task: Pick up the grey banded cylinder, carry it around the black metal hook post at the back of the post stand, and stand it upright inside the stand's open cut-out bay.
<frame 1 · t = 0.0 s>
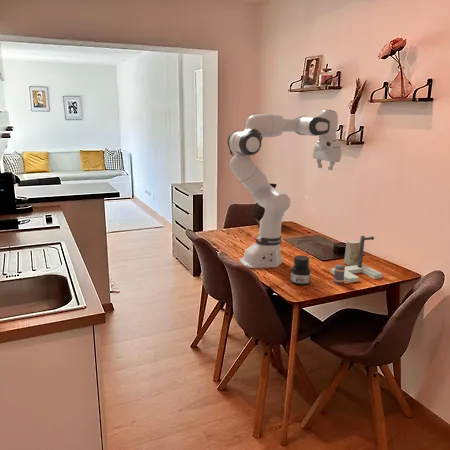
hand: (325, 169, 218), 48 cm above the table, fingers open, 8 cm apart
ink bottle: (300, 282, 193), on the table
skincare box: (351, 264, 219), on the table
post stand: (355, 274, 203), on the table
grey banded cylinder: (338, 282, 194), on the table
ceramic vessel: (267, 225, 293), on the table
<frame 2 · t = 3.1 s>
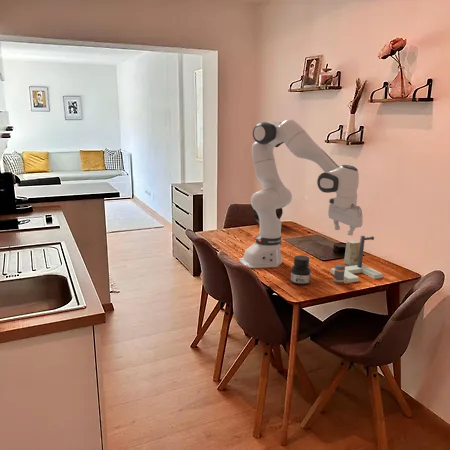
hand: (343, 232, 187), 24 cm above the table, fingers open, 8 cm apart
nothing on the table moved.
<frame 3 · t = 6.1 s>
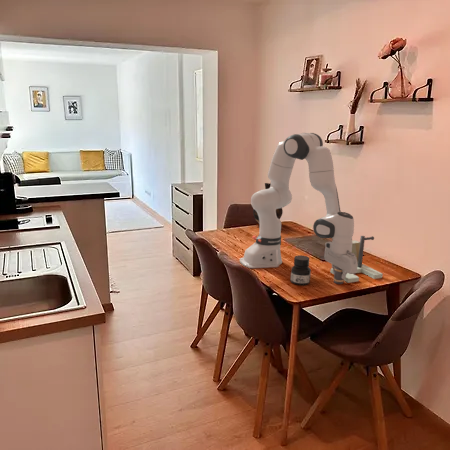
hand: (338, 276, 193), 3 cm above the table, fingers closed on grey banded cylinder, 4 cm apart
grey banded cylinder: (338, 282, 193), on the table, touching gripper
everything else where it was.
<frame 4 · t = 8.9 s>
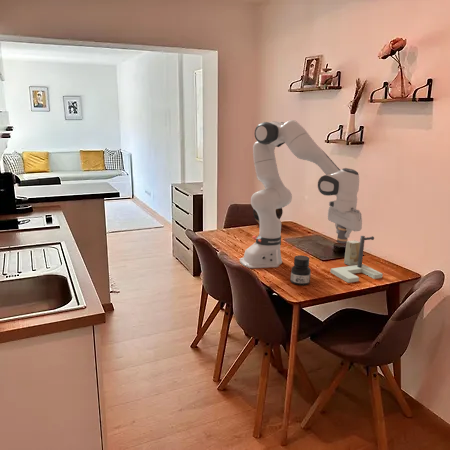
hand: (342, 235, 188), 23 cm above the table, fingers closed on grey banded cylinder, 4 cm apart
grey banded cylinder: (341, 242, 189), point 20 cm above the table, touching gripper
everything else where it was.
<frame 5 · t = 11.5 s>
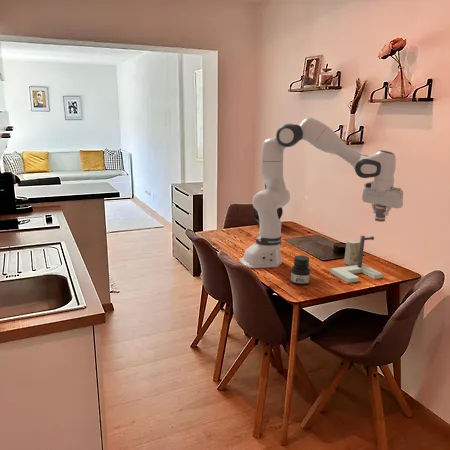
hand: (380, 214, 199), 30 cm above the table, fingers closed on grey banded cylinder, 4 cm apart
grey banded cylinder: (379, 220, 199), point 27 cm above the table, touching gripper
everything else where it was.
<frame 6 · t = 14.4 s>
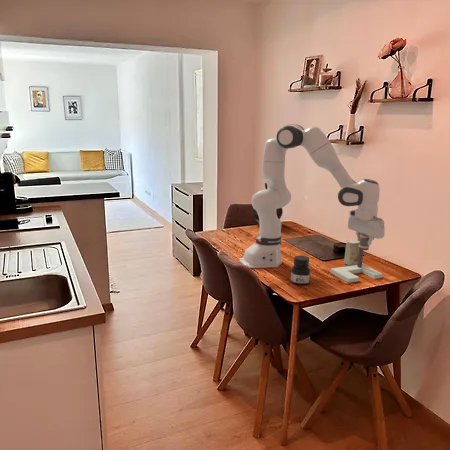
hand: (364, 242, 196), 17 cm above the table, fingers closed on grey banded cylinder, 4 cm apart
grey banded cylinder: (363, 249, 197), point 14 cm above the table, touching gripper
everything else where it was.
when the fingers open (5 cm above the table, at t = 17.1 s): grey banded cylinder drops 1 cm, on the table.
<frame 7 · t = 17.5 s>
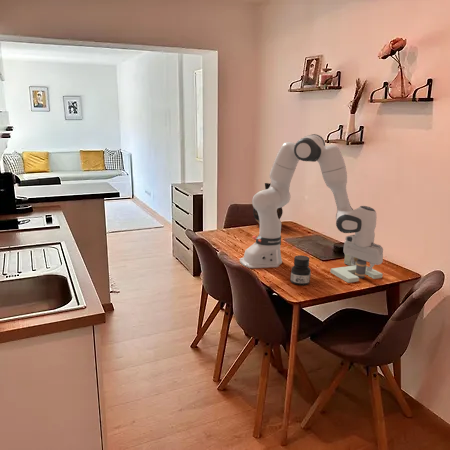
hand: (361, 267, 200), 5 cm above the table, fingers open, 8 cm apart
grey banded cylinder: (359, 276, 201), on the table
everything else where it was.
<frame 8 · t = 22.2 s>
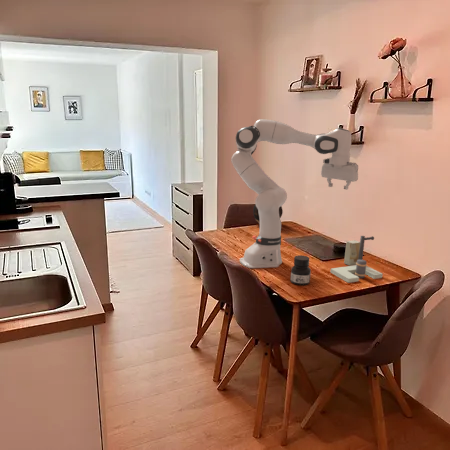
hand: (338, 188, 214), 39 cm above the table, fingers open, 8 cm apart
nothing on the table moved.
at the end: grey banded cylinder inside the target area (0.4 cm from its centre), on the table; grey banded cylinder tilted 0°; the gripper is holding nothing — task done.
